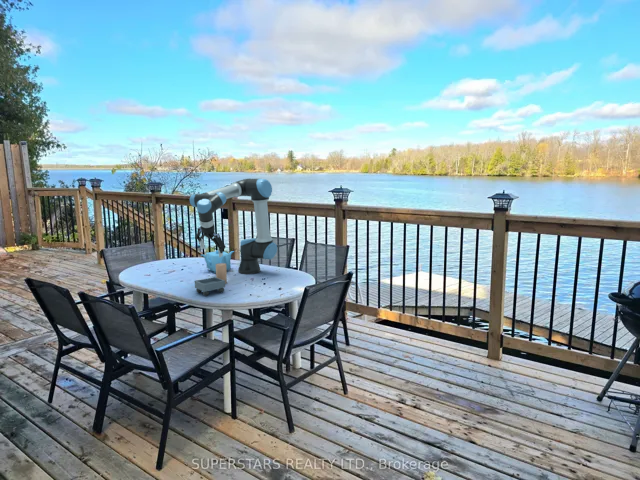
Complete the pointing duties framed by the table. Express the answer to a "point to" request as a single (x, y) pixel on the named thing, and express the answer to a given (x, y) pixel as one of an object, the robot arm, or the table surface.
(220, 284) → the caster cart
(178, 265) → the table surface
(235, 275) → the table surface
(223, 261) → the teakettle
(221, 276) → the canister
